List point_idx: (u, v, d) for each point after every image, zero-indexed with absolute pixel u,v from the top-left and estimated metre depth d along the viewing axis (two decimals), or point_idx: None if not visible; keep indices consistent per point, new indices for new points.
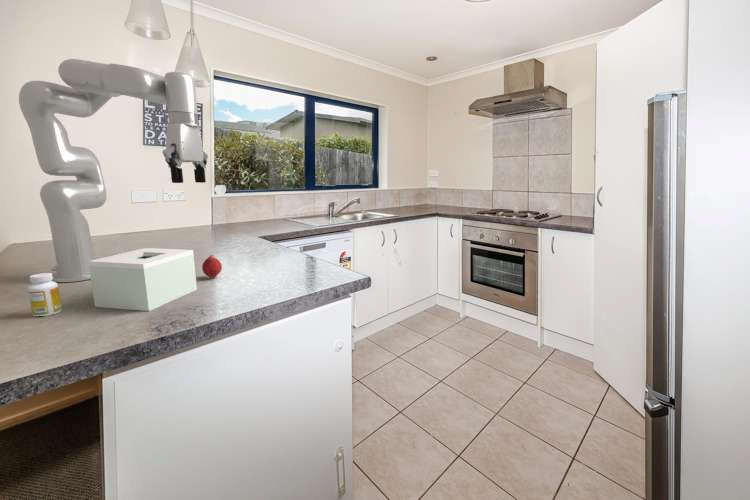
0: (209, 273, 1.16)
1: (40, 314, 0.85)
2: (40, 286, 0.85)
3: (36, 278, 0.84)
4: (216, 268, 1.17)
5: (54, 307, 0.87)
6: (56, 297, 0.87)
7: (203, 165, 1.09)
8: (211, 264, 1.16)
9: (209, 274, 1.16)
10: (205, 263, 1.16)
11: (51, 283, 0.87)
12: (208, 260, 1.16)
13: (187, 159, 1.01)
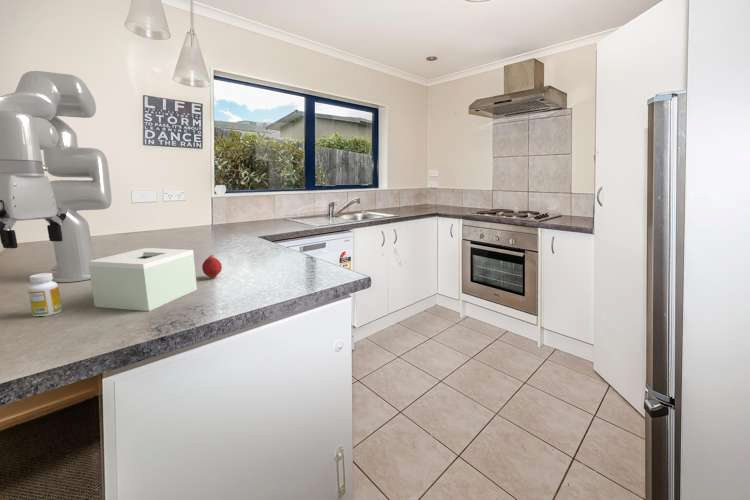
0: (209, 273, 1.16)
1: (40, 314, 0.85)
2: (40, 286, 0.85)
3: (36, 278, 0.84)
4: (216, 268, 1.17)
5: (54, 307, 0.87)
6: (56, 297, 0.87)
7: (58, 220, 0.88)
8: (211, 264, 1.16)
9: (209, 274, 1.16)
10: (205, 263, 1.16)
11: (51, 283, 0.87)
12: (208, 260, 1.16)
13: (24, 218, 0.80)
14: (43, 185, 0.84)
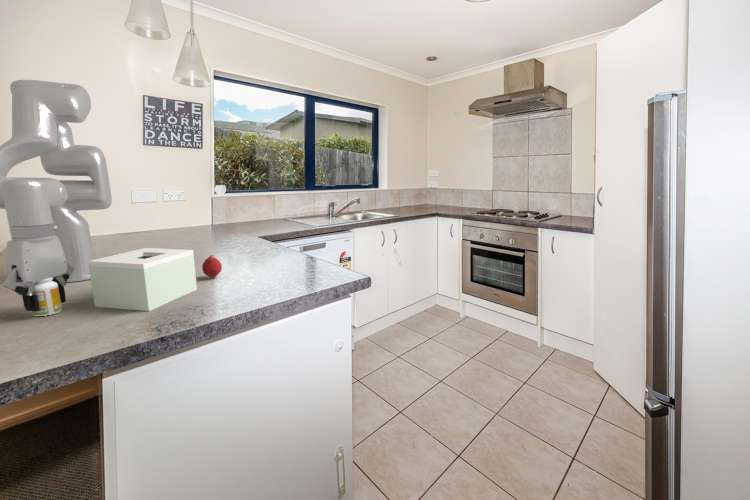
0: (209, 273, 1.16)
1: (40, 314, 0.85)
2: (41, 286, 0.85)
3: None
4: (216, 268, 1.17)
5: (54, 307, 0.87)
6: (56, 297, 0.87)
7: (61, 282, 0.90)
8: (211, 264, 1.16)
9: (209, 274, 1.16)
10: (205, 263, 1.16)
11: (51, 283, 0.87)
12: (208, 260, 1.16)
13: (36, 280, 0.83)
14: (54, 246, 0.87)
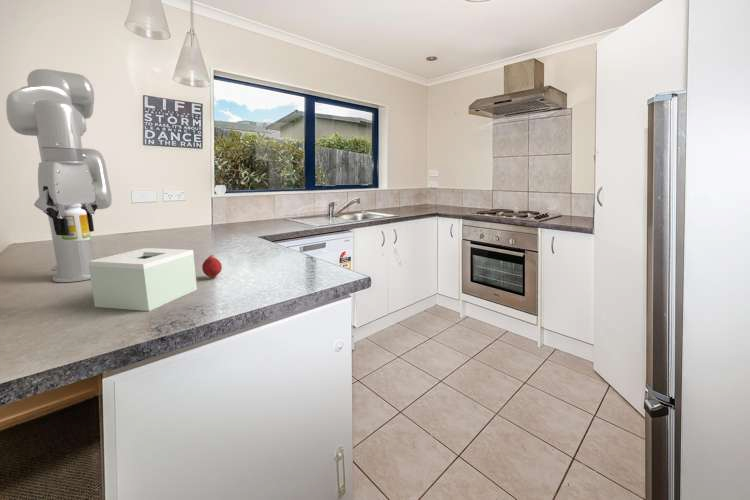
0: (209, 273, 1.16)
1: (69, 239, 0.86)
2: (70, 210, 0.86)
3: None
4: (216, 268, 1.17)
5: (82, 233, 0.88)
6: (85, 224, 0.88)
7: (90, 211, 0.91)
8: (211, 264, 1.16)
9: (209, 274, 1.16)
10: (205, 263, 1.16)
11: (80, 209, 0.88)
12: (208, 260, 1.16)
13: (66, 203, 0.84)
14: (83, 172, 0.87)
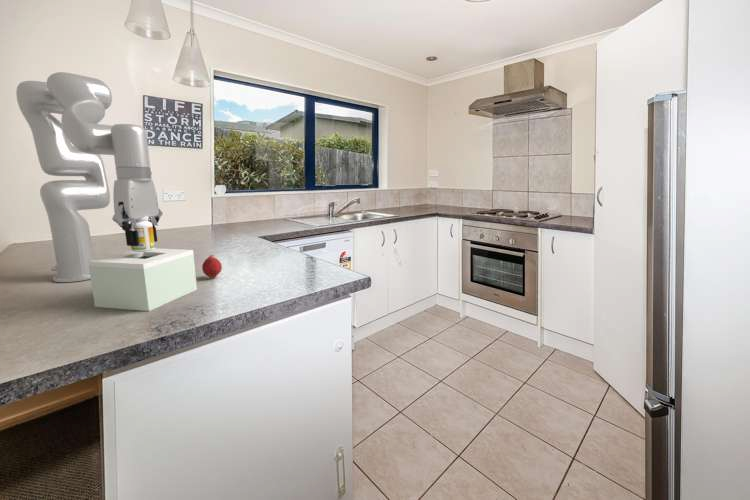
0: (209, 273, 1.16)
1: (139, 249, 0.95)
2: (140, 223, 0.94)
3: None
4: (216, 268, 1.17)
5: (150, 244, 0.96)
6: (151, 235, 0.97)
7: (154, 223, 0.99)
8: (211, 264, 1.16)
9: (209, 274, 1.16)
10: (205, 263, 1.16)
11: (148, 222, 0.96)
12: (208, 260, 1.16)
13: (137, 217, 0.93)
14: (150, 188, 0.96)
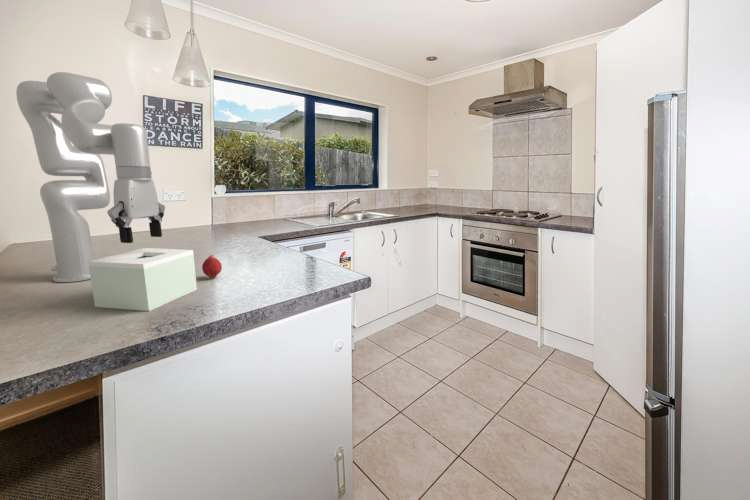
0: (209, 273, 1.16)
1: None
2: None
3: None
4: (216, 268, 1.17)
5: None
6: None
7: (159, 218, 1.00)
8: (211, 264, 1.16)
9: (209, 274, 1.16)
10: (205, 263, 1.16)
11: None
12: (208, 260, 1.16)
13: (138, 216, 0.93)
14: (150, 188, 0.96)
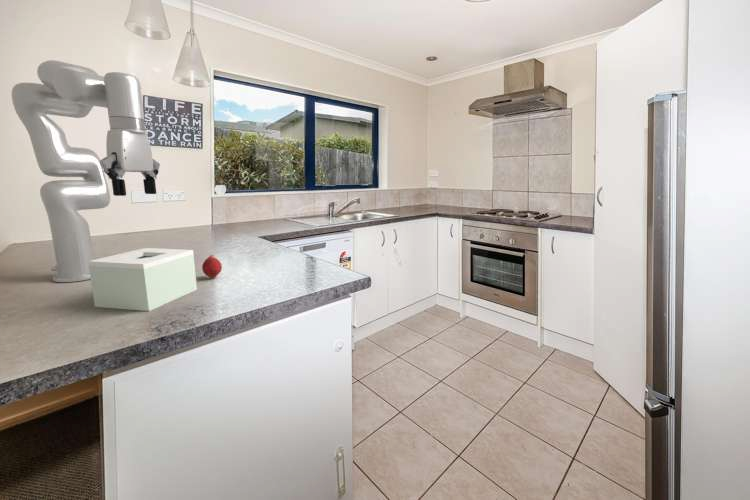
0: (209, 273, 1.16)
1: None
2: None
3: None
4: (216, 268, 1.17)
5: None
6: None
7: (153, 175, 0.99)
8: (211, 264, 1.16)
9: (209, 274, 1.16)
10: (205, 263, 1.16)
11: None
12: (208, 260, 1.16)
13: (131, 169, 0.91)
14: (144, 142, 0.94)
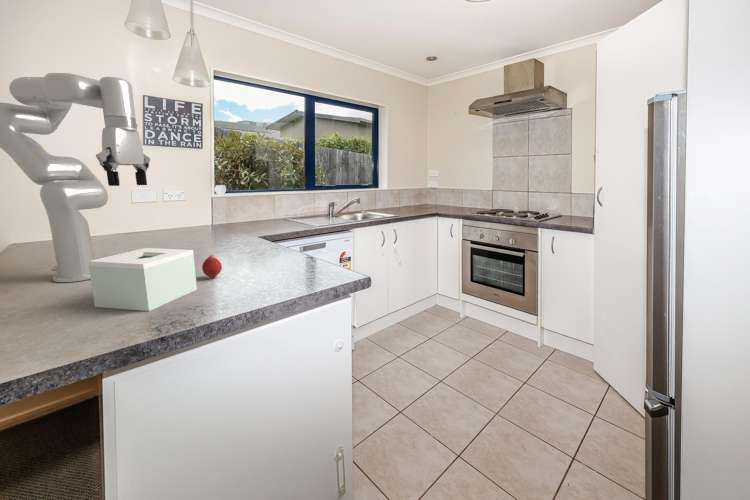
0: (209, 273, 1.16)
1: None
2: None
3: None
4: (216, 268, 1.17)
5: None
6: None
7: (144, 168, 1.11)
8: (211, 264, 1.16)
9: (209, 274, 1.16)
10: (205, 263, 1.16)
11: None
12: (208, 260, 1.16)
13: (124, 162, 1.03)
14: (136, 138, 1.06)
